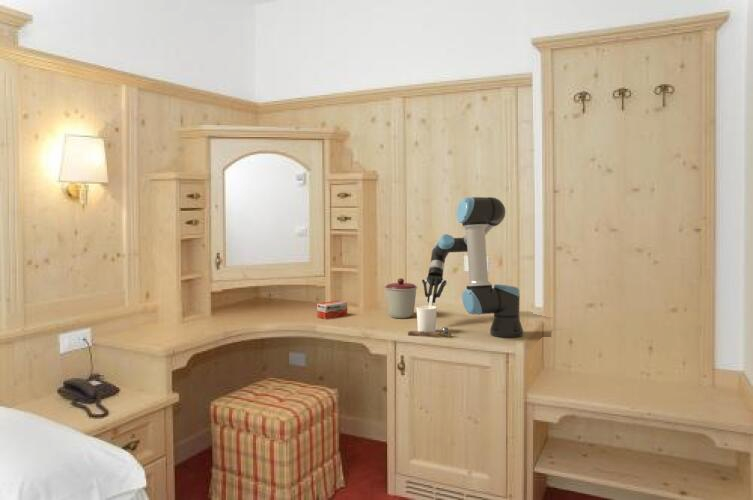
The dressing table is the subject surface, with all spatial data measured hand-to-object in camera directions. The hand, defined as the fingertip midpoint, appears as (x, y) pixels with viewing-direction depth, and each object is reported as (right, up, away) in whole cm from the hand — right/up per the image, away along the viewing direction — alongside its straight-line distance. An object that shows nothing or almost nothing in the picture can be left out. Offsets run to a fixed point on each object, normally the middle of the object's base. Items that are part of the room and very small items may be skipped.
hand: (430, 307), depth 312 cm
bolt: (+5, -10, -22) cm, 25 cm away
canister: (-13, -8, +29) cm, 33 cm away
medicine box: (-51, -8, +31) cm, 60 cm away
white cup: (-3, -11, -11) cm, 16 cm away
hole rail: (-2, -11, -20) cm, 23 cm away
